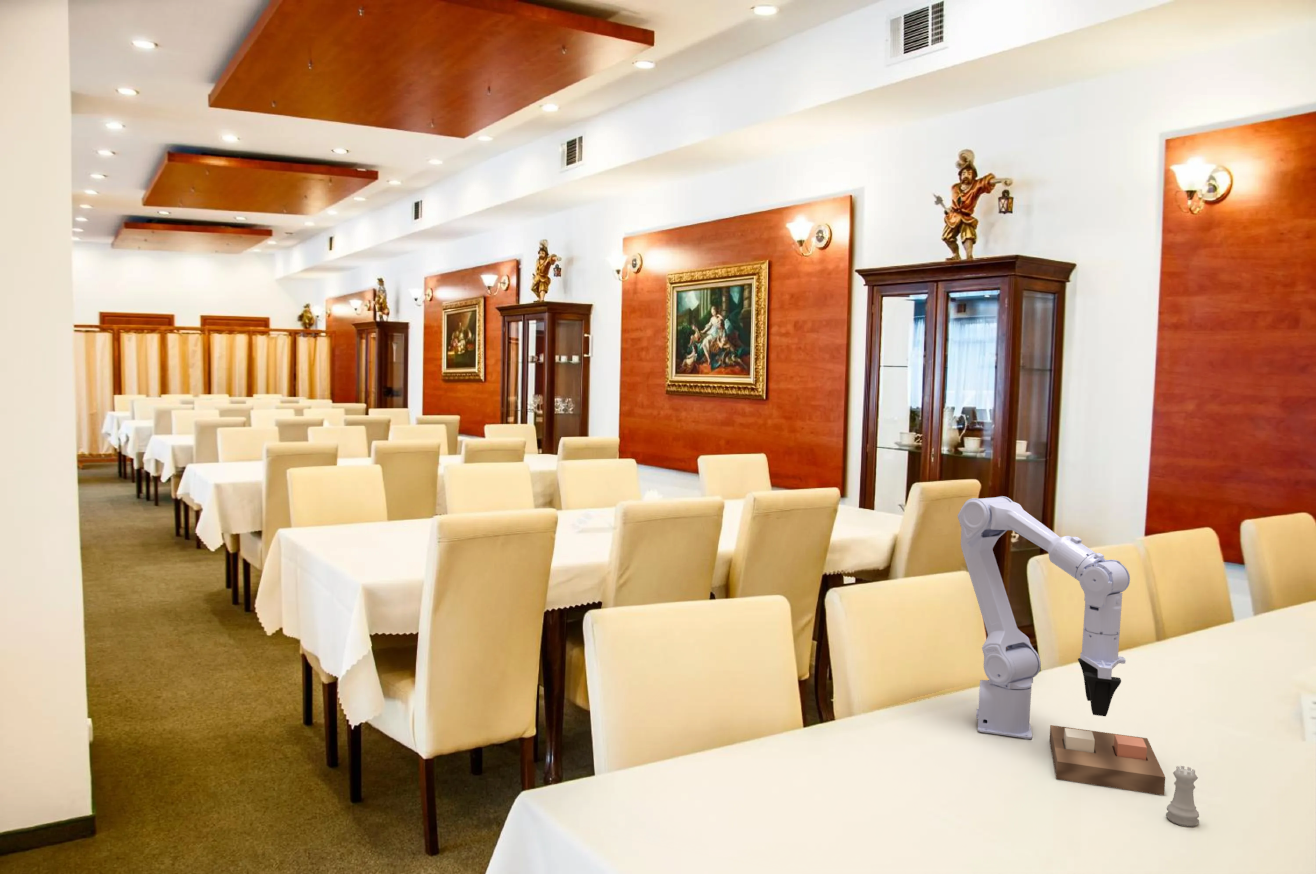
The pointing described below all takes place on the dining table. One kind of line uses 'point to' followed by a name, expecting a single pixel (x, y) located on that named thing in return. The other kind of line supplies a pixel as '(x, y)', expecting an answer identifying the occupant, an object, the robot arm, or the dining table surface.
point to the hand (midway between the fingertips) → (1096, 707)
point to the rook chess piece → (1183, 799)
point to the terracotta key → (1130, 747)
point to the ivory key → (1079, 740)
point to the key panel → (1106, 764)
